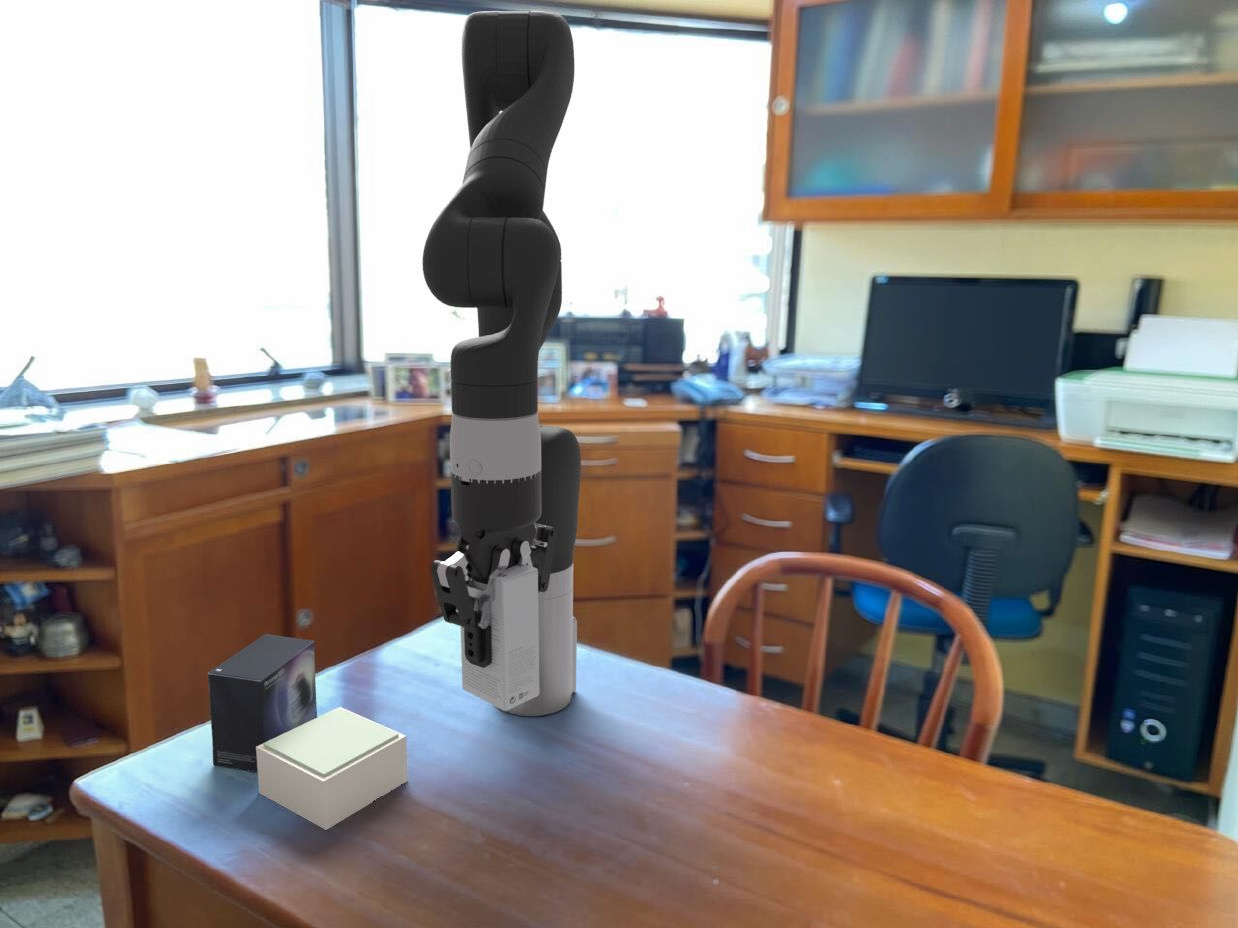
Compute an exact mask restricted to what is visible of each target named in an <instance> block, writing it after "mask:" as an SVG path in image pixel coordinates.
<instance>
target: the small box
mask: <svg viewBox="0 0 1238 928" xmlns="http://www.w3.org/2000/svg"><path fill="white" fill-rule="evenodd" d="M315 657H316V655H315V641H314V640H310V639H304V638H298V637H297V638H296V637H290V636H282V635H276V634H270V633H264V634H263V635H261V636H260V637H258V638H257V639H256V640H254V641H253V642H251V643H250V644H248V645H247V646H245V647H244V648H243V649H241V650H240V651H238V652H237V653H235V654H234V655H232V656H231V657H229V658H228V659H225V661H223V662H222V663H220V664H219V665H218V666H215V667H214V668H212V669H211V670H210V671H209V672H207V682H208V695H209V696H208V697H209V698H208V699H209V712H210V713H209V714H210V726H211V729H210V730H211V740H212V742H211V744H212V765H213V766H214V767H222V768H228V769H234V770H240V771H241V770H242V771H245V772H246V771H247V772H253V773H258V767H257V754H256V747H257V746H259V745H261V744H263V743H265V742H267V741H269V740H271V739H274V738H276V737H278V736H280V735H282V734H284V733H286V732H288V731H290V730H292V729H294V728H296V727H299V726H301V725H303V724H305V723H307V722H309V721H311V720H313V719H315V718H317V717H318V707H317V687H316V666H315V665H316V662H315V661H316V660H315Z"/></svg>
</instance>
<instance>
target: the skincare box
mask: <svg viewBox="0 0 1238 928" xmlns="http://www.w3.org/2000/svg"><path fill="white" fill-rule="evenodd" d="M473 582H474V585H475V586H476V587H478V588H481V589H484V590H486V589H487V586H488V584H483V583H479V582H477V581H475V580H474V579H473ZM479 605H480V600H479V599H478V598H476V601H475V606H474V611H478V610H479ZM489 626H491V641H492V663H491V664H490V665H489V666H487V667H485V668H482V667H479V666H476V665H473V664H471V663H470V662H469V661H468V660H467V659H466V656H465V642H464V628H463V627H462V626H460V647H461V649H460V650H461V651H460V652H461V653H460V654H461V682H462V686H461V687H462V690H463V691H466V692H467V693H470V694H471V695H473V696H475V697H476V698H479V699H480V700H482V701H485V702H486V703H488V704H490V705H492V706H494V707H496V708H498V709H500V710H501V711H503V712H506V711H507V710H509V709H511V708H513V707H515V706H517V705H520V704H522V703H524V702H526V701H528V700H530V699H532V698H535V697H537V696H538V695H539V624H538V569H537V568H534V567H531V566H528V565H524V566H519V565H515V566H513V567H511V568H508V569H506V570H505V571H504V575H502V576H498V577H497V578H496V579H495V600H494V601H493V602H492V613H491V618H490V623H489Z"/></svg>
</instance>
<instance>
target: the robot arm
mask: <svg viewBox="0 0 1238 928" xmlns="http://www.w3.org/2000/svg"><path fill="white" fill-rule="evenodd" d="M461 35H462V37H461V66H462V79H463V89H464V90H463V91H464V101H465V109H466V110H465V111H466V119H467V128H468V129H467V130H468V138H469V139H468V140H469V141H468V142H469V152H468V154H467V155H468V156H467V161H466V165H465V169H464V175H463V179H462V183H461V186H460V187H459V188H458V189H457V191H456V192H455V194H454V195H453V196H452V198H451V199H450V200H449V201H448V203H447V204H446V206H444V208H443V209H442V210H441V212H440V213H439V215H438V216H437V217H436V219H435V220H434V222H433V223H432V226H431V227H430V229H429V232H428V235H427V237H426V239H425V244H424V247H423V251H422V273H423V277H424V278H423V279H424V281H425V284H426V286H427V287H428V289H429V291H430V293H431V294H432V295H433V296H434V297H435V299H436V300H438V301H439V302H440V303H442V304H444V305H446V306H449V307H453V308H459V309H460V308H461V309H464V308H465V309H466V308H467V309H468V308H469V309H475V308H476V309H477V310H476V311H477V325H478V336H477V337H472V338H471V337H470V338H468V339H465V340H461V341H459V342H458V343H456V344H455V346H454V347H453V348H452V350H451V353H450V391H451V392H450V395H451V396H450V397H451V398H450V399H451V422H450V423H451V424H450V430H449V458H450V459H449V460H450V491H451V492H450V496H451V516H452V517H451V518H452V520H453V521H454V523H456V525H457V528H458V529H459V538H458V541H457V544H456V547H455V551H456V552H455V553H454V554H453V555H452V556H450V557H449V558H447V559H446V560H445V561H444V560H443V561H442V560H438V559H436V560H433V562H431V563H432V564H431V565H430V573H431V576H432V580H433V585H434V588H435V592H436V595H437V599H438V603H439V607H440V609H441V614H442V617H443V620H444V622H446V623H448V624H452V625H455V626H458V627H461V626H462V627H463V628H464V642H465V656H466V659H467V660H468V661H469V662H470V663H471V664H473V665H476V666H479V667H482V668H485V667H487V666H489V665H490V664H491V663H492V641H491V626H489V623H490V618H491V613H492V602H493V601H494V600H495V579H496V578H497V577H498V576H502V575H504V571H505V570H506V569H508V568H511V567H513V566H515V565H519V566H524V565H528V566H531V567H534V568H537V569H538V624H539V695H538V696H537V697H535V698H532V699H530V700H528V701H526V702H524V703H522V704H520V705H517V706H515V707H513V708H511V709H509V710H507V711H505V712H506V713H509V714H512V715H516V716H525V717H539V716H547V715H551V714H554V713H555V714H556V712H560V711H561V710H563V709H565V708H566V707H568V706H569V705H570V703H571V701H572V696H573V695H572V694H573V693H575V692H577V658H578V657H577V655H578V654H577V650H578V649H577V643H578V642H577V641H578V638H577V637H578V636H577V635H578V620H577V619H576V616H574V614H573V613H574V550H575V544H576V538H577V535H578V534H577V533H578V519H579V518H578V517H579V501H580V488H581V475H582V474H581V473H582V472H581V471H582V460H581V459H582V456H581V449H580V444H579V441H578V439H577V437H576V435H575V433H573V431H571V430H569V429H567V428H564V427H560V426H559V427H558V426H550V425H543V424H541V425H540V422H539V421H540V420H539V410H538V409H539V407H538V402H539V401H538V399H539V398H538V397H539V396H538V394H539V393H538V391H539V390H538V389H539V388H538V373H539V371H538V369H539V353H540V350H541V348H542V347H543V345H544V343H545V342H546V340H547V339H548V337H549V335H550V334H551V331H552V329H553V327H554V326H555V323H556V321H557V320H558V317H559V315H560V311H561V307H562V303H563V302H562V301H563V300H562V299H563V279H562V277H563V275H562V274H563V273H562V271H563V269H562V247H561V242H560V240H559V237H558V234H557V232H556V230H555V228H554V226H553V224H552V222H551V221H550V219H549V217H548V215H547V214H546V212H545V211H544V210H543V209H544V204H545V194H546V185H547V177H548V169H549V163H550V159H551V155H552V151H553V149H554V146H555V144H556V140H557V139H558V137H559V133H560V131H561V129H562V125H563V124H564V120H565V117H566V115H567V112H568V111H567V110H568V108H569V105H570V102H571V99H572V94H573V90H574V89H573V88H574V82H575V49H574V40H573V36H572V35H573V34H572V31H571V27H570V24H569V23H568V21H567V20H566V18H564V16H562V15H561V14H559V13H556V12H552V11H545V10H531V11H530V10H489V11H488V10H487V11H486V10H485V11H484V10H483V11H476V12H472V13H470V14H469V15H468V16H467V17H466V19H465V21H464V25H463V29H462V34H461ZM473 579H474V580H475V581H477V582H479V583H483V584H488V586H487V589H486V590H484V589H481V588H478V587H476V586H475V585H474V582H473ZM476 598H478V599H479V600H480V605H479V610H478V611H474V606H475V601H476Z"/></svg>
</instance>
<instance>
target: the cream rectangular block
mask: <svg viewBox="0 0 1238 928" xmlns="http://www.w3.org/2000/svg"><path fill="white" fill-rule="evenodd" d="M407 749H408V748H407V735H405V734H403V733H401V732H398V731H396V730H395V729H391V728H389V727H387V726H385V725H382V724H380V723H377V722H375V721H373V720H371V719H369V718H366V717H364V716H362V715H359V714H357V713H355V712H352V711H351V710H349V709H346V708H343V707H341V706H339V707H336V708H334V709H332V710H329V711H328V712H326V713H323V714H321V715H320V716H317V718H315V719H313V720H311V721H309V722H307V723H305V724H303V725H301V726H299V727H296V728H294V729H292V730H290V731H288V732H286V733H284V734H282V735H280V736H278V737H276V738H274V739H271V740H269V741H267V742H265V743H263V744H261V745H259V746H257V747H256V754H257V767H258V772H257V779H258V780H257V781H258V790H259V791H258V792H259V794H260V795H262V796H264V797H266V798H268V799H270V800H271V801H273V802H275V803H277V804H278V805H280V806H282V807H284V808H285V809H288V810H289V811H290V812H293V813H294V814H296V815H297V816H298V815H299V816H300V817H301V818H304V819H306V820H307V821H308V822H310V823H312V824H314V825H316V826H318V827H319V828H321V829H323V830H325V831H327V830H329V829H331V828H332V827H334V826H335V825H337V824H339V823H340V822H342V821H344V820H345V819H347V818H349V817H351V816H352V815H354V814H355V813H358V812H359V811H360V810H362V809H363V808H365V807H367V806H368V805H370V804H372V803H373V801H374V800H375V801H377V800H378V799H377V798H379V797H380V796H382V797H384V796H385V795H386V794H388V793H390V792H391V790H392V791H393V790H395V789H396V788H399V787H400V786H402V785H403V784H405V783H407V782H408V754H407V753H408V752H407ZM401 784H402V785H401ZM380 798H381V797H380ZM380 798H379V799H380ZM376 799H377V800H376Z"/></svg>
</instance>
